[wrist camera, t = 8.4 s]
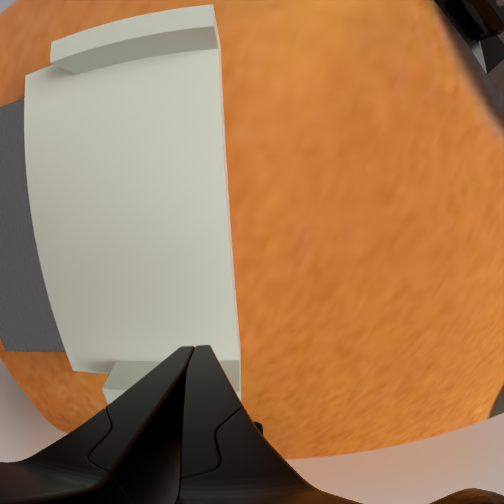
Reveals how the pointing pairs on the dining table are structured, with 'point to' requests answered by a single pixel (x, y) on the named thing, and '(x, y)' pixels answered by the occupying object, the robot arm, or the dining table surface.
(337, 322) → the dining table surface
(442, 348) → the dining table surface
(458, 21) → the black blocky piece
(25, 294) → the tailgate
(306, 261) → the dining table surface
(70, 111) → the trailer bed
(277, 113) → the dining table surface
